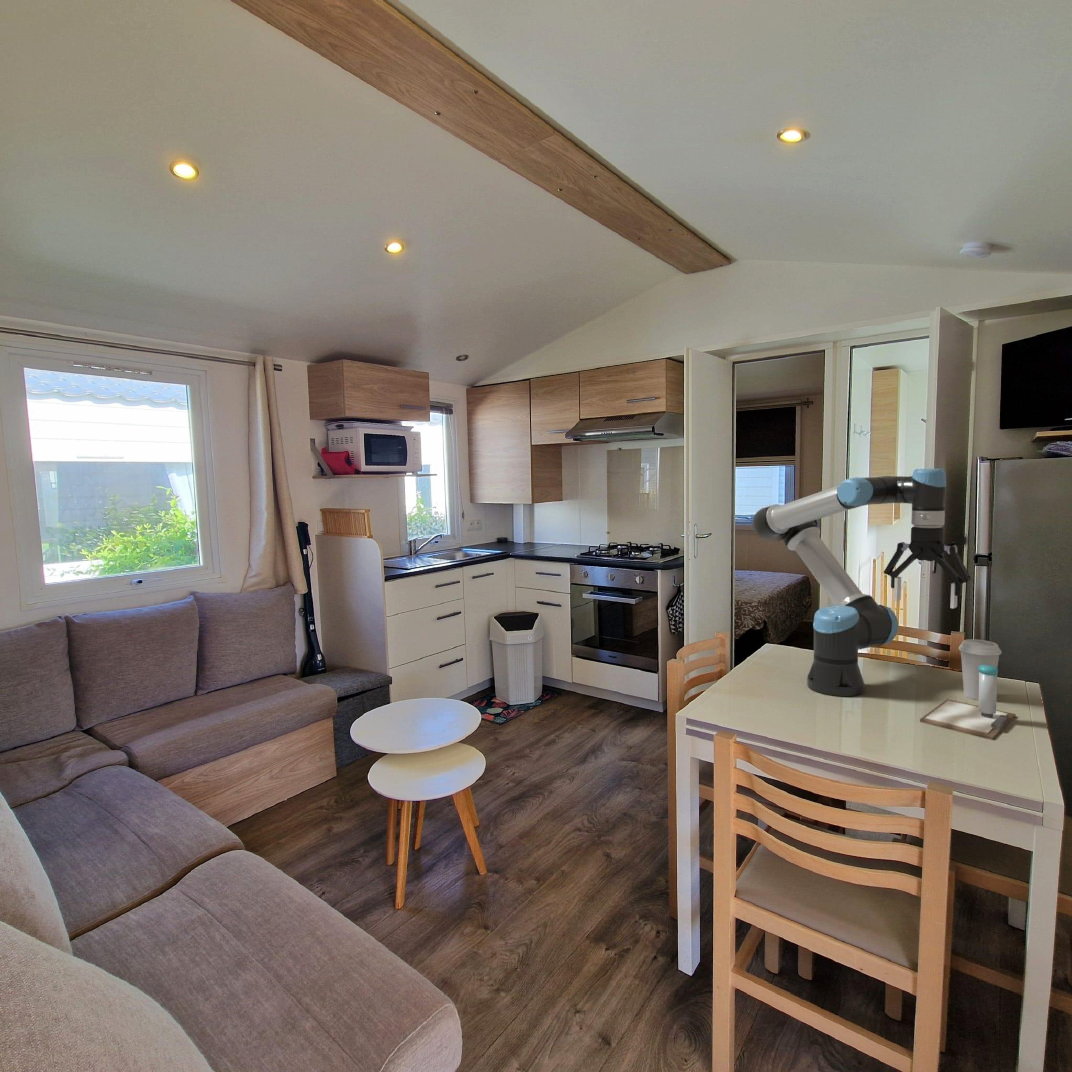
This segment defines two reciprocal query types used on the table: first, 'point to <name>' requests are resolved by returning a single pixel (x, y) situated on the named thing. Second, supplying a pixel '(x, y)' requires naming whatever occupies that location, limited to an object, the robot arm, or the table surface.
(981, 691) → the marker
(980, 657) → the coffee cup
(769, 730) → the table surface
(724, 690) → the table surface
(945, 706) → the clipboard
